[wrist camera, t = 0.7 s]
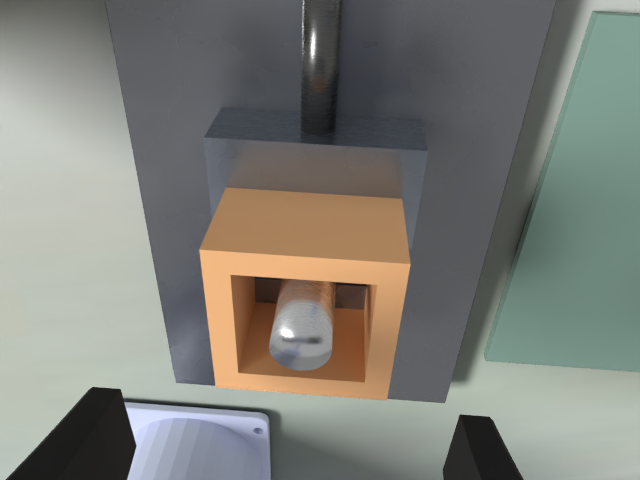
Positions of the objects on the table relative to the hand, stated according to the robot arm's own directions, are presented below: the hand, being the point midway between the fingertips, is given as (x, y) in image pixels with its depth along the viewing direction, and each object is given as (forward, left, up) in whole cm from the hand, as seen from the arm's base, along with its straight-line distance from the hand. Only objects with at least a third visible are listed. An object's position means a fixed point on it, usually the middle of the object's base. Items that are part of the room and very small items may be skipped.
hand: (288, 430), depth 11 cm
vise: (0, 0, -9) cm, 9 cm away
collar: (0, 0, -6) cm, 6 cm away
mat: (0, -12, -9) cm, 15 cm away
